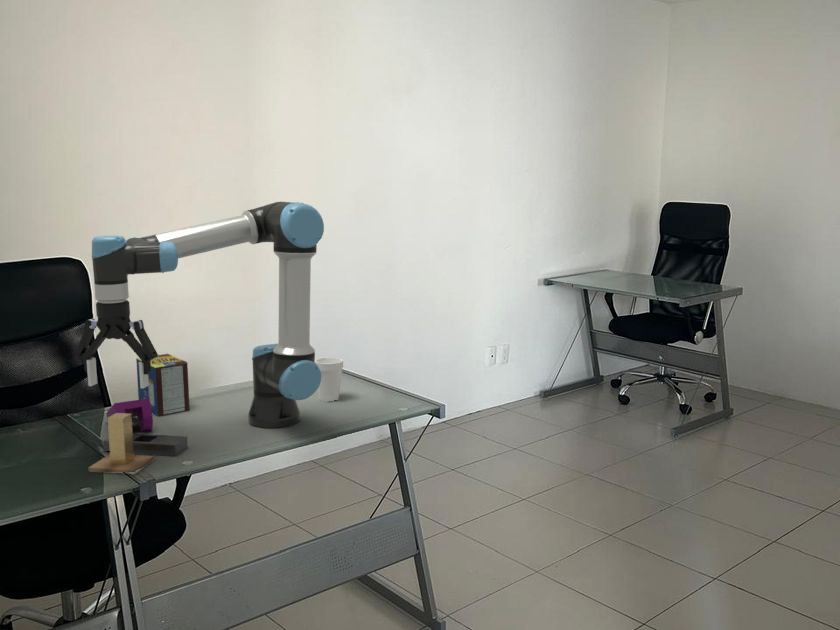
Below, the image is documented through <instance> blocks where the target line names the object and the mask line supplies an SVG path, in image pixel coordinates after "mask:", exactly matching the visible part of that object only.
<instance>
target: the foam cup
mask: <svg viewBox="0 0 840 630" xmlns="http://www.w3.org/2000/svg"><path fill="white" fill-rule="evenodd" d="M315 363H316V365H317V366H318V367H319V369H320V371H321V383H320V385H319V387H318V389H317V395H318V400H319V399H320V400H321V401H320V400H319V401H320V402H323V401H333V402H335V401H334V400H337V399H338V398H340V390H341V385H342V384H341V382H342V374H343V369H344V359H342V358H340V357H335V356H332V357H331V356H326V357H325V356H324V357H323V356H322V357H318V358H315ZM338 400H339V399H338ZM338 400H337V401H338Z"/></svg>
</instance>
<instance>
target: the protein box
mask: <svg viewBox="0 0 840 630" xmlns="http://www.w3.org/2000/svg"><path fill="white" fill-rule="evenodd" d="M135 359H136V362H135V363H136V374H137V375H136V376H137V377H136V378H137V393H138V394H137V395H138V396H137V397H138V400H141V399H148V398H149V399H150V405H151V411H152V413H153V414H152V415H154V416H156V417H157V416H158V417H162V416H167V415H173V414H177V413H184V412H189V411H190V393H189V391H190V388H189V387H190V386H189V368H188V361H186V360H183V359H181V358H178V357H176V356H174V355H172V354H169V353H164V354H158V356H157V357H156V358H154V359H152V360H151V361H150V363H151V373H149V374H148V380H149V386H147V387H145V388H140V373H139V362H140V361H142V360H141V359H140V358H139V357H136V358H135Z"/></svg>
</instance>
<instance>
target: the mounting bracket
mask: <svg viewBox="0 0 840 630" xmlns="http://www.w3.org/2000/svg"><path fill="white" fill-rule="evenodd" d="M115 413H127V414H131V417H132V418H136V417H137V418H136V419H137V424H138V427H139V430H140V431H141V432H147V431H152V430H153V425H154V422H153V414H152V411H151V405H150V399H149V398H148V399H141V400H139V399H135V400H128V401H127V400H126V401H121V402H114V403H113V405H111V407H110V408H109V409H108V410H107V411H106V417H107V418H106V419H107V421H108V417H110V416H112V415H113V414H115Z"/></svg>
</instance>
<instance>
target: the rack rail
mask: <svg viewBox="0 0 840 630" xmlns="http://www.w3.org/2000/svg"><path fill="white" fill-rule="evenodd" d="M132 435H133V452H134V455H145V456H164V457H165V456H166V457H177V456H178V455H179V454H180V453H182V452H183V451H186V449H187V448H188V436H186V435H185V436H183V435H182V436H181V435H170V434H169V435H166V434H165V435H164V434H153V433H152V434H151V433H149V434H148V433H134V432H132ZM102 446H103V452H104V451H110V447H109V436H108V437H107V438H105V439H104V440H102Z"/></svg>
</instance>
